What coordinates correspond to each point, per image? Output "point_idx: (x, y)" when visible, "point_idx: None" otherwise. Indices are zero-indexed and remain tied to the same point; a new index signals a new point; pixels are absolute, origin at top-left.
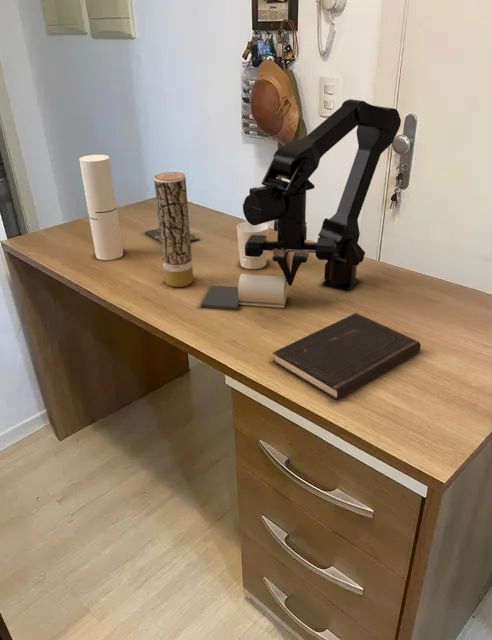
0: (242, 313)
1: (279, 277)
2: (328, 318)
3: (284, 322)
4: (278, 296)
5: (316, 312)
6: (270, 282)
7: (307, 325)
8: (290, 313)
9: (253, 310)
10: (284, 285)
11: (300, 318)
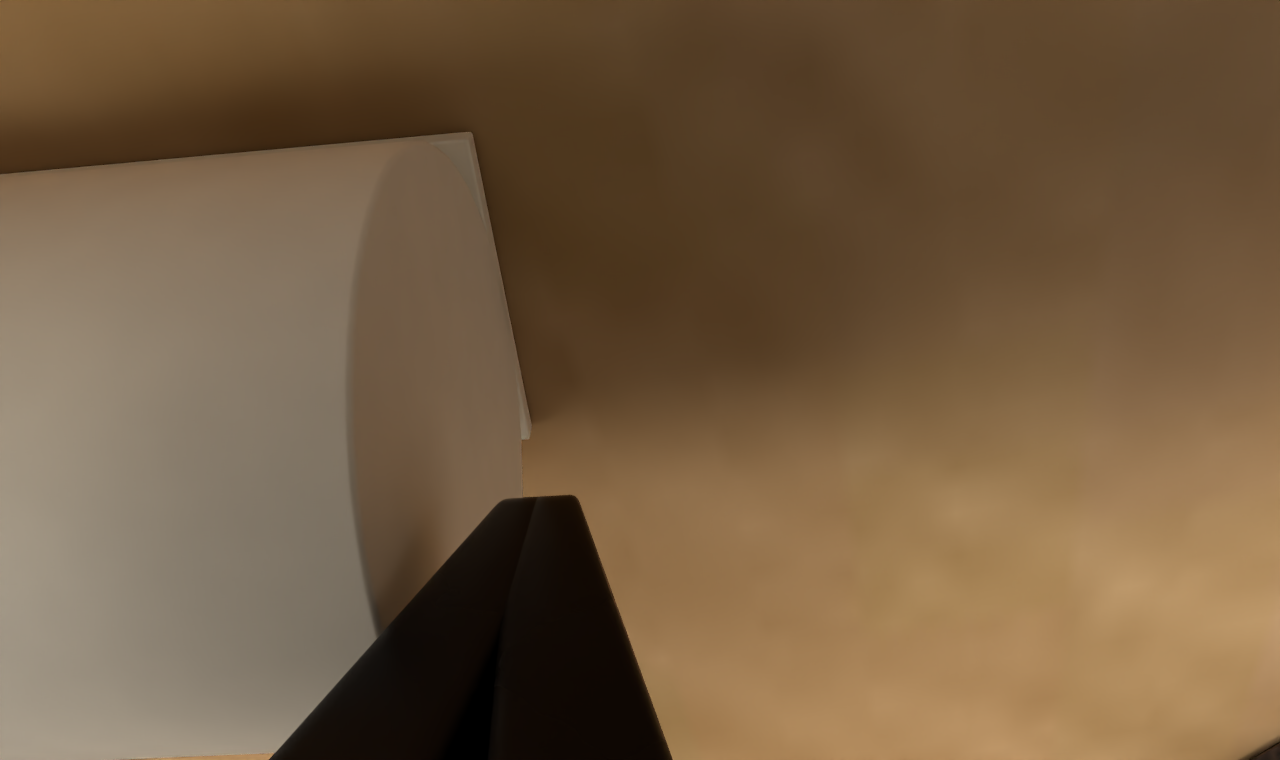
0: None
1: (223, 681)
2: (1191, 556)
3: None
4: None
5: (1033, 451)
6: (132, 755)
7: (913, 716)
8: (666, 539)
9: None
10: None
11: (817, 615)
